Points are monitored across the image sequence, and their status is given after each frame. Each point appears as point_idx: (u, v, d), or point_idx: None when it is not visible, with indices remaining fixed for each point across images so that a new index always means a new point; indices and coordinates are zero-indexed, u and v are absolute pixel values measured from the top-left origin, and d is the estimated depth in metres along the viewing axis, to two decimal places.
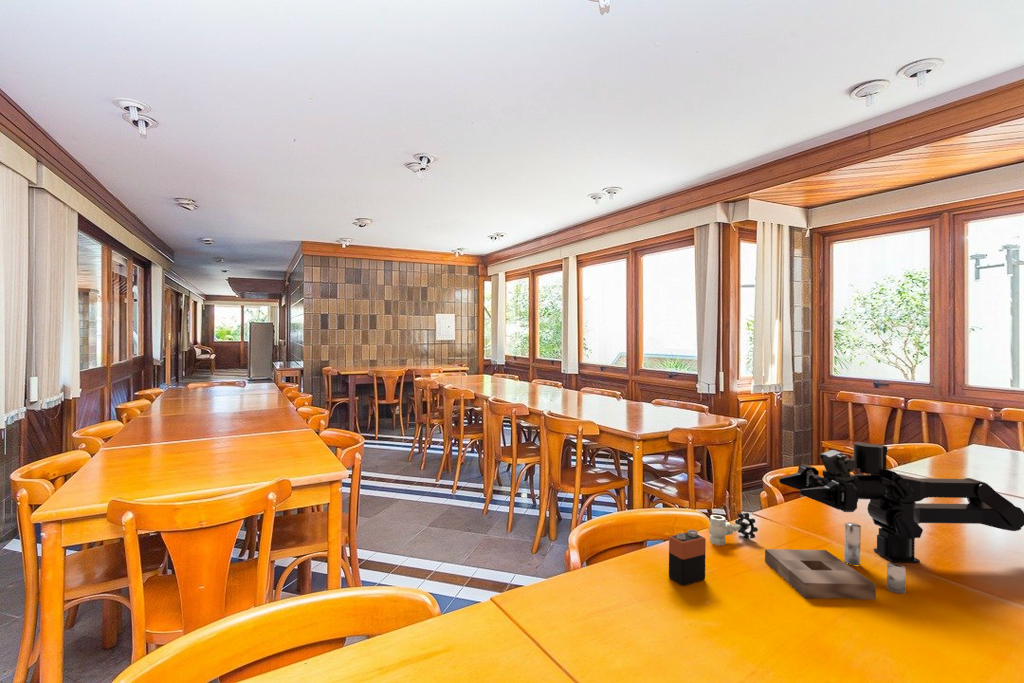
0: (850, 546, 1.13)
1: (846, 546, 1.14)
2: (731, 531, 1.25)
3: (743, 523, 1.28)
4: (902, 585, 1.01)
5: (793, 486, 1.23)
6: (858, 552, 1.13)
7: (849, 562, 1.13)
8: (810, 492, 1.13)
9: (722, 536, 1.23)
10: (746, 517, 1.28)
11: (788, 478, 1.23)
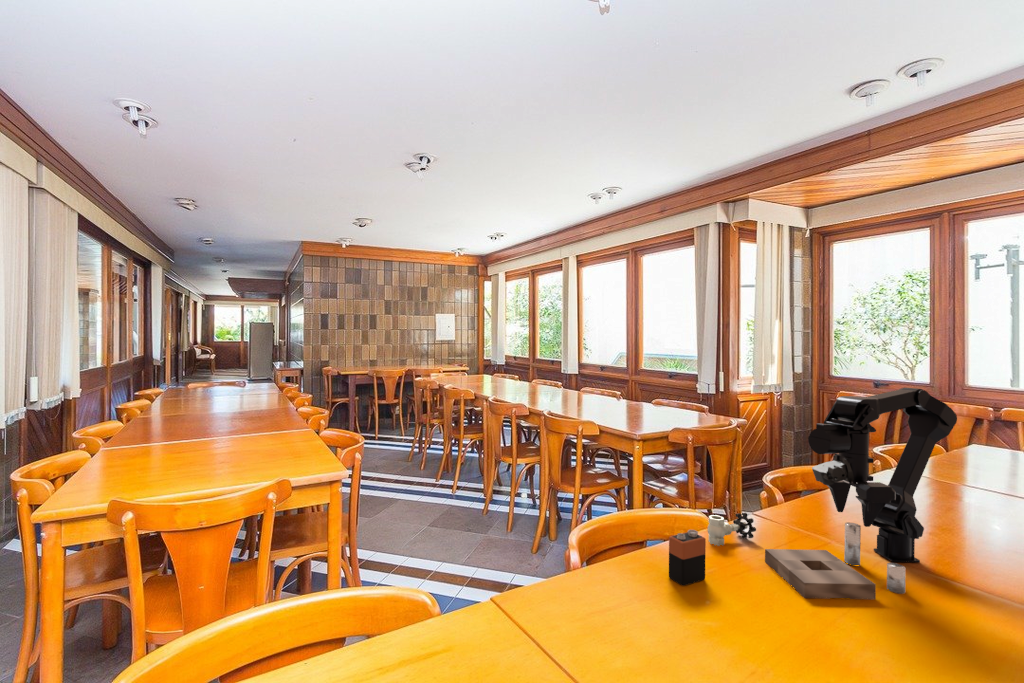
0: (850, 546, 1.13)
1: (846, 546, 1.14)
2: (730, 531, 1.25)
3: (741, 523, 1.28)
4: (902, 585, 1.01)
5: (846, 497, 1.19)
6: (858, 552, 1.13)
7: (849, 562, 1.13)
8: (867, 518, 1.09)
9: (721, 536, 1.23)
10: (744, 517, 1.28)
11: (837, 503, 1.18)
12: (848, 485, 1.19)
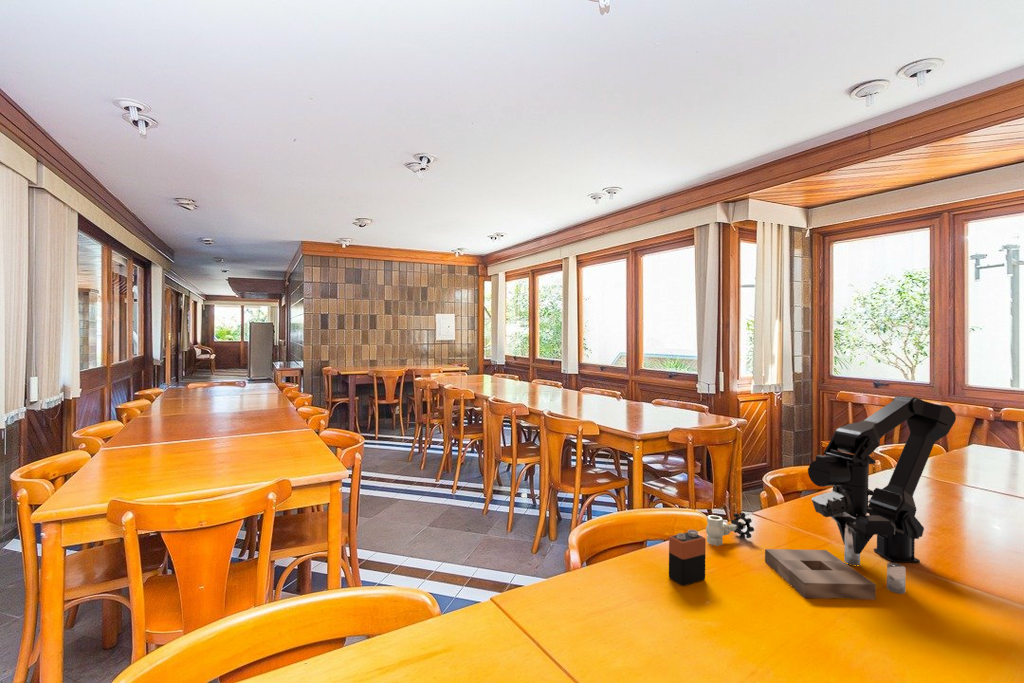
0: (850, 546, 1.13)
1: (846, 546, 1.14)
2: (728, 531, 1.25)
3: (739, 523, 1.28)
4: (902, 585, 1.01)
5: None
6: None
7: (849, 562, 1.13)
8: (858, 546, 1.12)
9: (719, 536, 1.23)
10: (742, 517, 1.28)
11: None
12: None
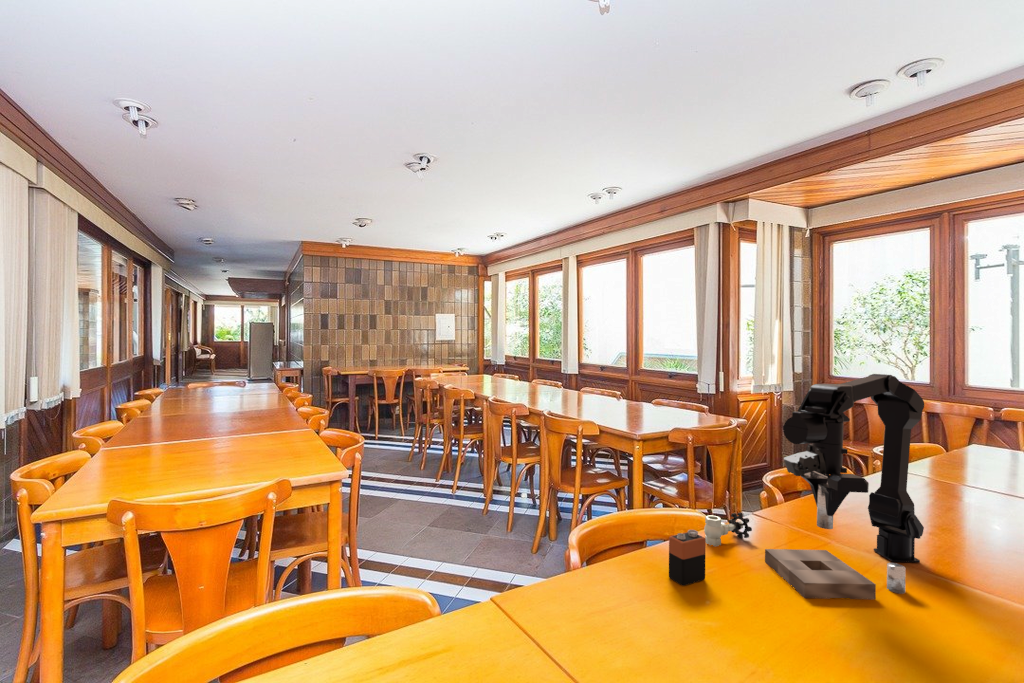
0: (822, 507, 1.07)
1: (819, 508, 1.08)
2: (726, 531, 1.25)
3: (737, 523, 1.28)
4: (902, 585, 1.01)
5: None
6: None
7: (821, 525, 1.07)
8: (830, 507, 1.06)
9: (718, 536, 1.23)
10: (740, 517, 1.28)
11: None
12: None
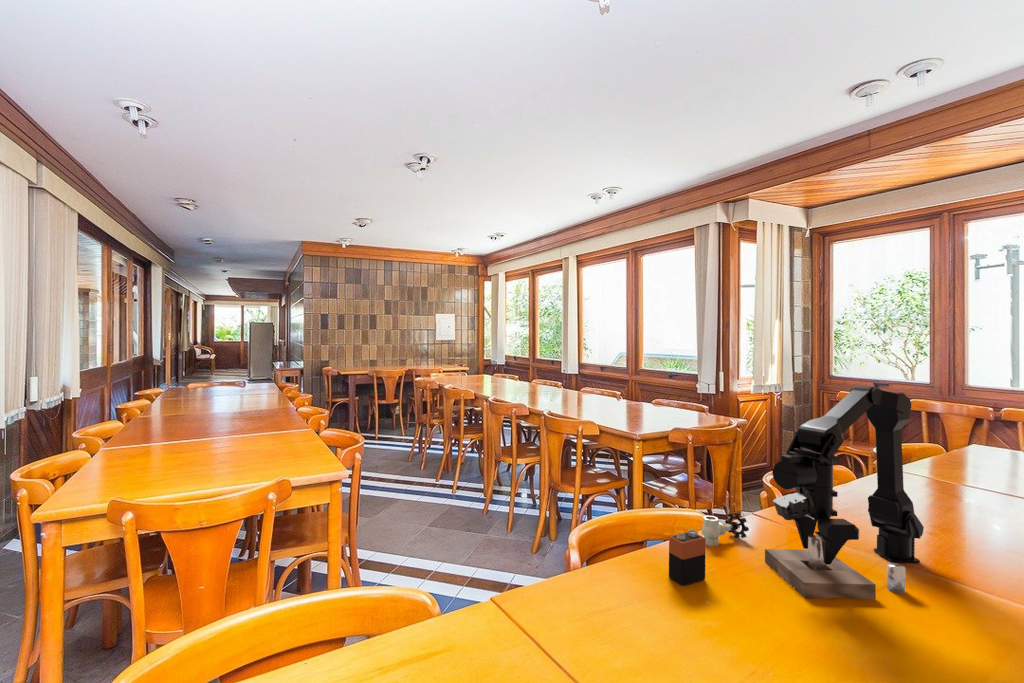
0: (813, 560, 1.05)
1: (809, 560, 1.06)
2: (723, 531, 1.25)
3: (734, 523, 1.28)
4: (902, 585, 1.01)
5: (812, 532, 1.10)
6: (822, 567, 1.05)
7: None
8: (828, 556, 1.02)
9: (715, 537, 1.23)
10: (737, 517, 1.28)
11: (803, 539, 1.10)
12: (815, 519, 1.10)
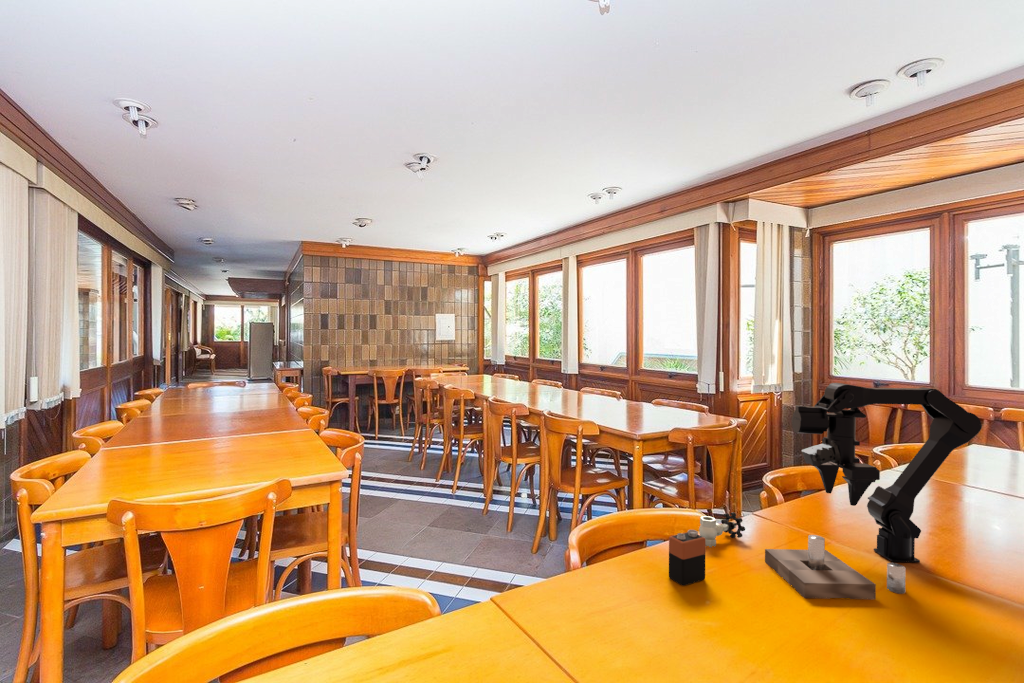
0: (813, 560, 1.05)
1: (809, 560, 1.06)
2: (721, 532, 1.24)
3: (730, 523, 1.28)
4: (902, 585, 1.01)
5: (834, 479, 1.25)
6: (822, 567, 1.05)
7: None
8: (853, 498, 1.15)
9: (713, 537, 1.22)
10: (733, 516, 1.28)
11: (826, 484, 1.24)
12: (836, 468, 1.25)
